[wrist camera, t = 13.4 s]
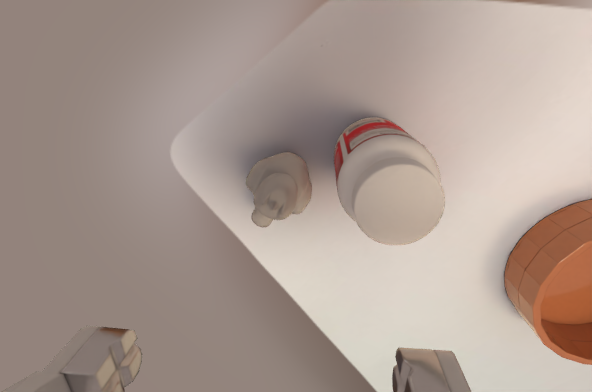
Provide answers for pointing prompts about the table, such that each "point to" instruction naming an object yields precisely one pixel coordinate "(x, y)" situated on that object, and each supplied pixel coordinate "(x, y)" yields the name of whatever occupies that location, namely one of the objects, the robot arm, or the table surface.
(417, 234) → the pill bottle
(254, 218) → the grey rounded lumpy piece
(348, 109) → the table surface
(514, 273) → the terracotta dish
